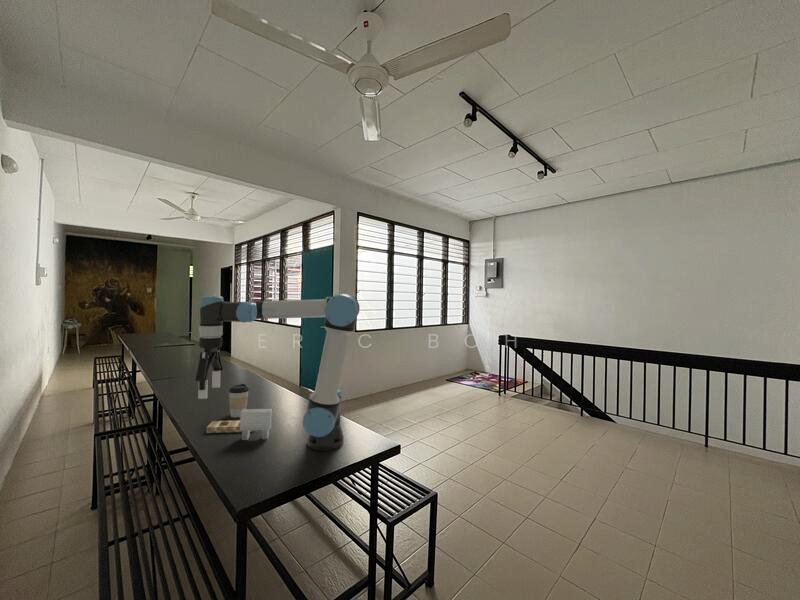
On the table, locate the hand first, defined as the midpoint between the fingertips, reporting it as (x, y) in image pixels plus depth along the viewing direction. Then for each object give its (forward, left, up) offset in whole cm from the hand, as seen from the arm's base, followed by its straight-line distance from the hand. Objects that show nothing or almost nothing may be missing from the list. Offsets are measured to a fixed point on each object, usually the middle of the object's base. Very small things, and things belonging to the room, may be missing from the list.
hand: (209, 392), depth 121 cm
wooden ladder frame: (-2, -25, -25) cm, 35 cm away
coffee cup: (+1, -42, -25) cm, 49 cm away
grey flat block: (-14, -15, -25) cm, 32 cm away
